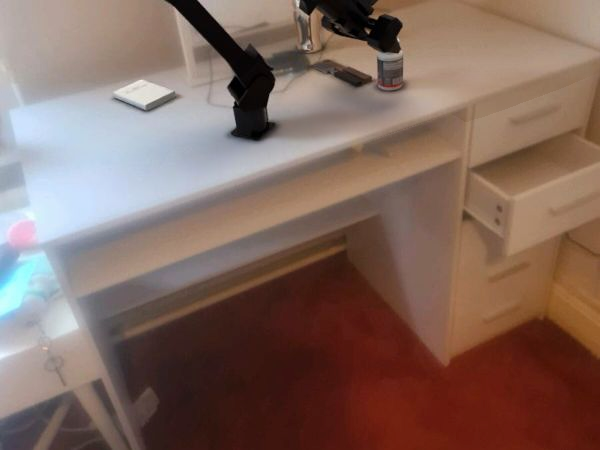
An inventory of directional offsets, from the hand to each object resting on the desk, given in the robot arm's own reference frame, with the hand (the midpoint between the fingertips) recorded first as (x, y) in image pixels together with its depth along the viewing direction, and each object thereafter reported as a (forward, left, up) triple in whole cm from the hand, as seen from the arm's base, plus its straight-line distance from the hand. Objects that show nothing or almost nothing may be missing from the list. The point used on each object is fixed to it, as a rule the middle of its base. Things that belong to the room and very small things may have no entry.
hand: (383, 45), depth 121 cm
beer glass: (+15, +26, -9) cm, 32 cm away
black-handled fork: (+3, +13, -9) cm, 16 cm away
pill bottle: (+2, -1, -9) cm, 10 cm away
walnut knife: (+5, +12, -9) cm, 16 cm away
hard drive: (-21, +48, -9) cm, 54 cm away
